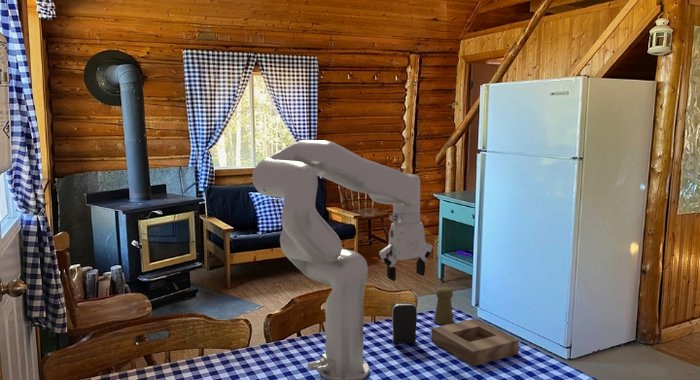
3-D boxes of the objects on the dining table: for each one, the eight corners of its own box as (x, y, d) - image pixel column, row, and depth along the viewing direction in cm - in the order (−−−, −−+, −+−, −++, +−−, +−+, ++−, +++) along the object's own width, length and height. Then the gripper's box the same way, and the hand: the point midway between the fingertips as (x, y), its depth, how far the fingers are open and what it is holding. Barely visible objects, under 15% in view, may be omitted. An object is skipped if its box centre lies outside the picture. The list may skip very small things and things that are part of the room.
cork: (432, 323, 170) (433, 289, 168) (435, 317, 175) (436, 284, 174) (452, 325, 168) (453, 291, 166) (454, 319, 174) (455, 286, 172)
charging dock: (473, 366, 140) (473, 351, 140) (431, 341, 156) (431, 328, 155) (518, 353, 148) (518, 340, 147) (474, 331, 163) (474, 318, 163)
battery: (414, 338, 158) (414, 300, 157) (416, 343, 155) (417, 305, 153) (390, 338, 158) (391, 301, 156) (392, 344, 154) (393, 305, 153)
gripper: (386, 223, 144) (386, 285, 147) (439, 217, 152) (438, 276, 154) (373, 219, 151) (373, 278, 153) (424, 213, 158) (423, 269, 161)
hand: (406, 277), depth 154 cm, fingers open, 9 cm apart
